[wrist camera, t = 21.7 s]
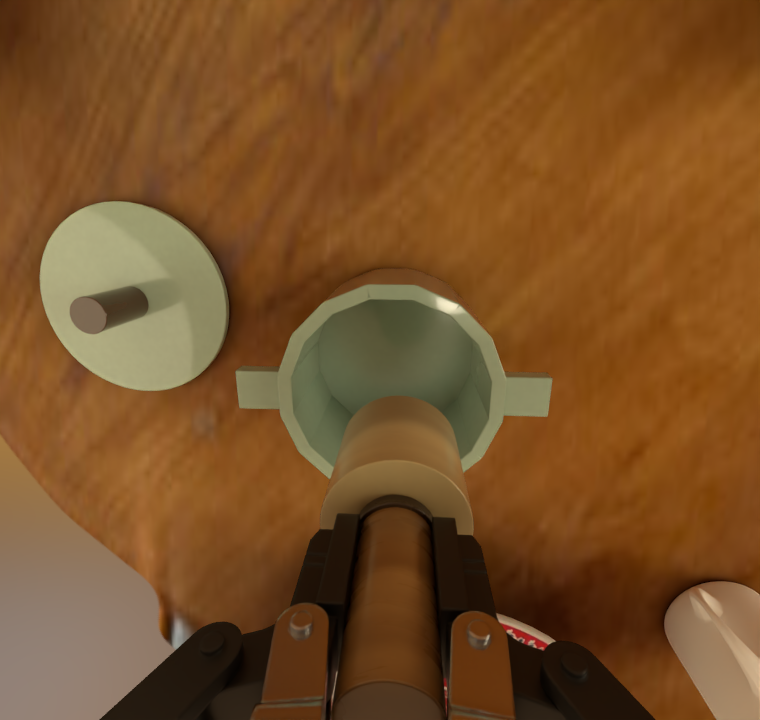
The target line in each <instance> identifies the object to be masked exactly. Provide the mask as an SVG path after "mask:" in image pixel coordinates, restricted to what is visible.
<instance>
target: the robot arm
mask: <svg viewBox="0 0 760 720" xmlns="http://www.w3.org/2000/svg"><path fill="white" fill-rule="evenodd" d="M431 532H432V546H433V559H434V572H435V585H436V598H437V611H438V625H439V636H440V641H441V653H442V666H443V678H446V682H447V709H446V717H447V720H655V719H654V718H653V717H652V716H651V714H650V713H649V712H648V711H647V710H646V709H645V708H644V707H643V706H642V705H641V704H640V703H639V702H638V701H637V700H636V699H635V698H634V697H633V696H632V695H631V693H630V692H629V691H628V690H627V689H626V688H625V687H624V686H623V685H622V684H621V683H620V682H619V681H618V680H617V679H616V678H615V677H614V676H613V675H612V674H611V672H610V671H609V670H608V669H607V668H606V667H605V666H604V665H603V664H602V663H601V662H600V661H599V660H598V659H597V658H596V657H595V656H594V655H593V654H592V653H591V652H590V651H588V650H587V649H586V648H584V647H582V646H580V645H578V644H576V643H573V642H569V641H556V642H553V643H551V644H549V645H548V646H547V647H546V648H545V650H544V651H543V650H540V649H537V648H535V647H532V646H529V645H526V644H524V643H521V642H519V641H518V640H516V639H514V638H513V637H512V636H510V635H509V634H508V633H507V632H506V631H505V629H504V628H503V626H502V625H501V624H500V622H499V621H498V618H497V615H496V611H495V606H494V602H493V597H492V593H491V588H490V584H489V580H488V575H487V571H486V566H485V563H484V557H483V553H482V549H481V546H480V545H479V544H478V542H477V541H476V540H475V538H474V537H473V536H472V535H458V533H457V527H456V521H455V518H451V517H432V530H431ZM359 533H360V514H346V513H337V516H336V520H335V524H334V528H333V529H320V530H319V531H318V532H317V533H316V534H315V535H314V536H313V538H312V539H311V540H310V543H309V546H308V549H307V554H306V556H305V559H304V563H303V566H302V569H301V572H300V576H299V579H298V582H297V585H296V589H295V592H294V595H293V599H292V602H291V605H290V607H289V608H287V609H286V610H285V611H284V612H283V613H282V614H281V615H280V616H279V617H278V619H277V621H276V623H275V624H274V625H272V626H270V627H268V628H266V629H263V630H259V631H255V632H251V633H247V634H243V635H242V634H241V632H240V630H239V628H238V627H237V626H235V625H234V624H232V623H228V622H216V623H212V624H209V625H207V626H205V627H203V628H201V629H199V630H198V631H197V632H196V633H194V634H193V635H192V636H191V637H190V638H189V639H188V640H187V641H185V642H184V643H183V644H182V645H181V646H180V647H179V648H178V649H177V650H176V651H174V652H173V653H172V654H171V655H170V656H169V657H168V658H167V659H166V660H165V661H164V662H162V663H161V664H160V665H159V666H158V667H157V668H156V669H155V670H154V671H153V672H151V673H150V674H149V675H148V676H147V677H146V678H145V679H144V680H143V681H141V683H139V684H138V685H137V686H136V687H135V688H134V689H133V690H132V691H130V692H129V693H128V694H127V695H126V696H125V697H124V698H123V699H122V700H121V701H119V702H118V704H116V705H115V706H114V707H113V708H112V709H111V710H110V711H108V712H107V714H105V715H104V716H103V717H102V718H101V719H100V720H331V709H332V701H333V699H332V694H333V690H334V685H335V679H336V673H337V671H338V665H339V658H340V652H341V646H342V639H343V634H344V630H345V624H346V617H347V611H348V604H349V598H350V591H351V585H352V579H353V572H354V566H355V559H356V553H357V546H358V540H359Z"/></svg>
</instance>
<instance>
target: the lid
mask: <svg viewBox="0 0 760 720" xmlns="http://www.w3.org/2000/svg"><path fill="white" fill-rule="evenodd" d="M40 291H41V296H42V302H43V305H44V309H45V312H46V315H47V317H48V319H49V322H50V324H51V326H52V328H53V330H54V331H55V333H56V335H57V337H58V338H59V339H60V341H61V342H62V344H63V345H64V346H65V348H66V349H67V350H68V351H69V352H70V353H71V354H72V356H73V357H74V358H75V359H77V360H78V361H79V362H80V363H81V364H82V365H83V366H85V367H86V368H87V369H89V370H90V371H91V372H93V373H94V374H96V375H98V376H99V377H101V378H103V379H105V380H107V381H109V382H111V383H113V384H116V385H119V386H122V387H125V388H130V389H134V390H142V391H160V390H166V389H171V388H175V387H178V386H181V385H183V384H185V383H187V382H189V381H191V380H192V379H194V378H195V377H197V376H198V375H200V374H201V373H202V372H203V371H204V370H206V369H207V368H208V367H209V366H210V365H211V363H212V362H213V361H214V360H215V358H216V357H217V355H218V353H219V352H220V350H221V348H222V346H223V343H224V341H225V338H226V334H227V330H228V324H229V300H228V295H227V289H226V286H225V283H224V279H223V276H222V274H221V272H220V269H219V267H218V265H217V263H216V262H215V260H214V258H213V256H212V255H211V253H210V252H209V250H208V249H207V248H206V246H205V245H204V244H203V242H202V241H201V240H200V239H199V238H198V237H197V236H196V235H195V234H194V233H193V232H192V231H191V230H190V229H189V228H187V227H186V226H185V225H184V224H183V223H181V222H180V221H178V220H177V219H175V218H174V217H172V216H171V215H169V214H167V213H165V212H163V211H161V210H159V209H156V208H153V207H150V206H147V205H144V204H139V203H134V202H122V201H110V202H101V203H97V204H92V205H89V206H87V207H84V208H82V209H80V210H78V211H76V212H75V213H73V214H72V215H70V216H69V217H68V218H66V219H65V220H64V221H63V222H62V223H61V224H60V225H59V226H58V227H57V229H56V230H55V231H54V232H53V234H52V236H51V237H50V239H49V241H48V243H47V245H46V248H45V250H44V253H43V257H42V261H41V267H40Z"/></svg>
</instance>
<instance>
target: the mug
mask: <svg viewBox="0 0 760 720" xmlns="http://www.w3.org/2000/svg"><path fill="white" fill-rule="evenodd" d="M664 629H665V633H666V636H667V638H668V641H669V643H670V645H671V647H672V648H673V650H674V652H675V653H676V655H677V657H678V658H679V660H680V661H681V663H682V665H683V666H684V668H685V669H686V671H687V673H688V674H689V676H690V678H691V679H692V681H693V682H694V684H695V686H696V687H697V689H698V691H699V692H700V694H701V695H702V697H703V699H704V700H705V702H706V704H707V705H708V707H709V708H710V710H711V712H712V713H713V715H714V716H715V718H716V720H760V595H759V594H758V593H757V592H755V591H754V590H752V589H750V588H748V587H746V586H744V585H741V584H738V583H734V582H727V581H715V582H708V583H703V584H700V585H696V586H694V587H692V588H690V589H688V590H686V591H684V592H683V593H681V594H680V595H679V596H678V597H677V598H676V599H675V600H674V601H673V602H672V603H671V605H670V606H669V608H668V610H667V612H666V615H665V619H664Z"/></svg>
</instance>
